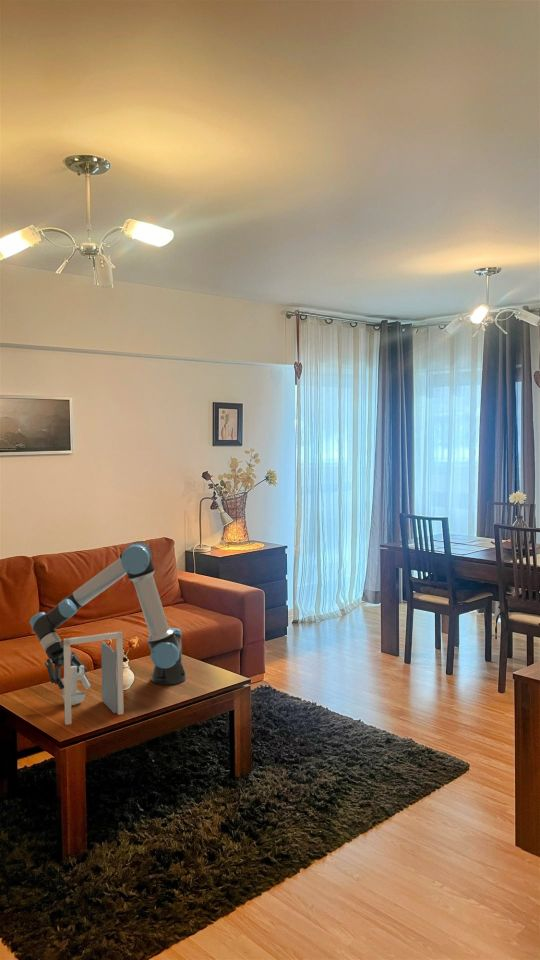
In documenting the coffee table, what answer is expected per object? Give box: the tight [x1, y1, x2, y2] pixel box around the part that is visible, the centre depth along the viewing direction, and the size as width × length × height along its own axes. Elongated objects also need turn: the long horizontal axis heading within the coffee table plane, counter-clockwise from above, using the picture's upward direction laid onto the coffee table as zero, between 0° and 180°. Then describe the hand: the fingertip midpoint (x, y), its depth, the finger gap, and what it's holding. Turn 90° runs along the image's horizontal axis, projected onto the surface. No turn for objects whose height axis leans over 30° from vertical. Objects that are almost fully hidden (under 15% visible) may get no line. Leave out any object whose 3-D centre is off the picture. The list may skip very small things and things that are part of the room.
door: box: [100, 641, 117, 714], centre depth 276 cm, size 16×3×24 cm, turn 29°
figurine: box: [60, 665, 87, 706], centre depth 281 cm, size 7×9×15 cm
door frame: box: [63, 631, 125, 726], centre depth 264 cm, size 22×2×32 cm, turn 119°
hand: (78, 691), depth 280 cm, fingers closed on figurine, 9 cm apart
